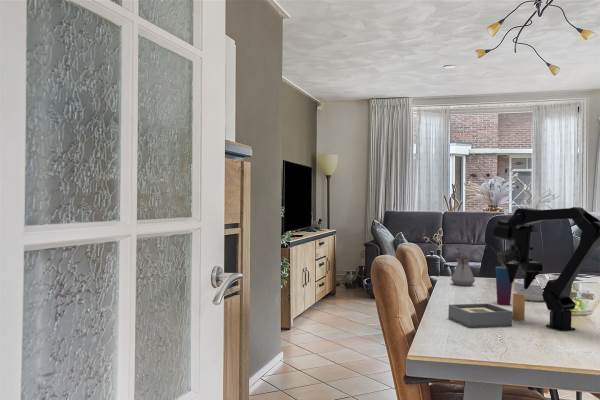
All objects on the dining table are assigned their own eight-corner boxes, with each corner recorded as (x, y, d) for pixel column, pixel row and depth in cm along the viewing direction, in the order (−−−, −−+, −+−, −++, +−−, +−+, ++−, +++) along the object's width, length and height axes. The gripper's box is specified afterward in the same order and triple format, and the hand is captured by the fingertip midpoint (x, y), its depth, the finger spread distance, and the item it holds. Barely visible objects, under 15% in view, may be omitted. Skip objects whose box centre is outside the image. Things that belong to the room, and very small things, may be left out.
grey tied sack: (451, 282, 274) (452, 253, 274) (474, 284, 270) (475, 254, 270) (449, 289, 254) (449, 257, 254) (474, 290, 250) (475, 259, 250)
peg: (526, 320, 189) (527, 295, 188) (517, 320, 188) (517, 295, 188) (519, 318, 192) (520, 293, 192) (510, 318, 191) (510, 293, 191)
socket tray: (512, 326, 179) (512, 311, 179) (469, 328, 175) (470, 313, 175) (488, 317, 193) (488, 303, 193) (448, 318, 189) (448, 304, 189)
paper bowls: (529, 303, 221) (530, 284, 221) (506, 296, 236) (506, 279, 236) (560, 302, 225) (560, 283, 225) (535, 295, 240) (535, 278, 240)
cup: (514, 306, 214) (514, 269, 214) (496, 305, 215) (497, 268, 215) (510, 303, 221) (511, 267, 221) (493, 302, 222) (494, 266, 222)
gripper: (487, 238, 197) (484, 279, 198) (516, 246, 179) (512, 291, 180) (515, 239, 199) (511, 280, 200) (546, 247, 181) (541, 292, 182)
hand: (518, 285), depth 191 cm, fingers open, 9 cm apart
